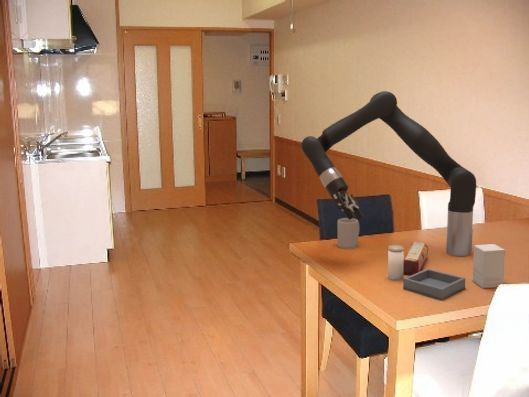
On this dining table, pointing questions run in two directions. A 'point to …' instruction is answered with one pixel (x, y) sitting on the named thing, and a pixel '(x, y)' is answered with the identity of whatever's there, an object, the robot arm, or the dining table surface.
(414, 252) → the snack package
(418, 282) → the tray
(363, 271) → the dining table surface
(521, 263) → the dining table surface
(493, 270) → the supplement box
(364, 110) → the robot arm
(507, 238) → the dining table surface
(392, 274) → the canister
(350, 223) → the mug
